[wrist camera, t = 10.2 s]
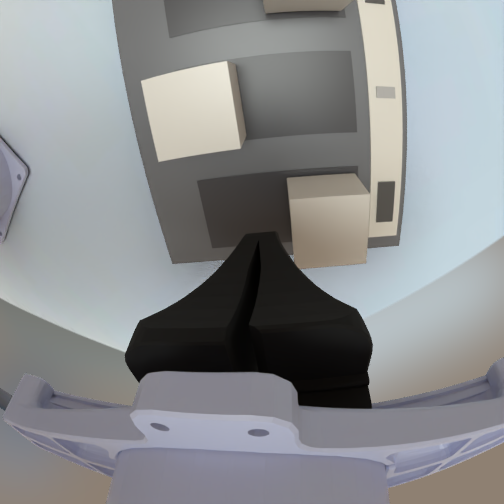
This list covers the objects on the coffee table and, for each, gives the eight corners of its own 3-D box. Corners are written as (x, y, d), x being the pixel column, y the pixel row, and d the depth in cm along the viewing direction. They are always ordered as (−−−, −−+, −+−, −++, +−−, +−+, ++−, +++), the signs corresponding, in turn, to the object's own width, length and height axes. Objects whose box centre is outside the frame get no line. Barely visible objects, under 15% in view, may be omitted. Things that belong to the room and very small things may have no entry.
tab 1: (177, 146, 14) (158, 161, 12) (163, 78, 12) (140, 80, 10) (246, 135, 14) (240, 148, 11) (235, 63, 12) (226, 60, 10)
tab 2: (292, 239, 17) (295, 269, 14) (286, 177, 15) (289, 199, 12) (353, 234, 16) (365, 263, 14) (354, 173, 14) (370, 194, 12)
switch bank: (178, 250, 20) (171, 265, 18) (121, -18, 10) (108, -24, 9) (391, 233, 18) (399, 247, 17) (373, -49, 8) (382, -59, 7)
